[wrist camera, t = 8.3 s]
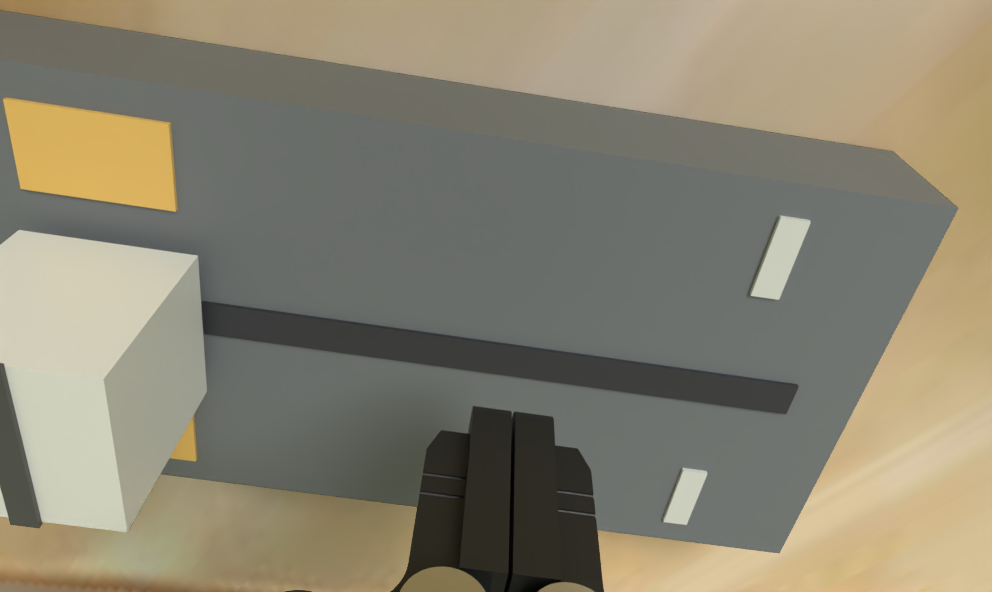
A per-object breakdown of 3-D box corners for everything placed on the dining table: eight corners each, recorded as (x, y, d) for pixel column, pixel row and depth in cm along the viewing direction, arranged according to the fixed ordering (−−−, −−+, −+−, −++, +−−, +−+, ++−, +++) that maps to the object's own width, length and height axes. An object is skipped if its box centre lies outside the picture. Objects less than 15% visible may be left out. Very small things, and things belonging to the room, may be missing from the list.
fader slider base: (-15, 7, 16) (-121, 43, 13) (893, 151, 17) (961, 210, 14) (58, 377, 21) (-8, 455, 19) (749, 470, 22) (780, 556, 20)
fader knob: (17, 227, 15) (-137, 349, 11) (197, 253, 15) (100, 380, 12) (47, 371, 17) (-78, 514, 13) (206, 393, 17) (125, 538, 13)
